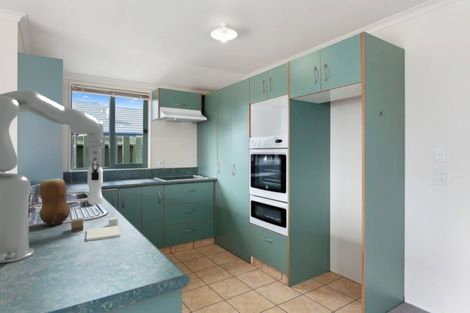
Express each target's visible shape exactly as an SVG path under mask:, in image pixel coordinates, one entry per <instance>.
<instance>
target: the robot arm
mask: <svg viewBox="0 0 470 313" xmlns="http://www.w3.org/2000/svg"><path fill="white" fill-rule="evenodd" d="M23 112H24V113H25V112H29V113H31V114H33V115H36V116H38V117H40V118H42V119H44V120H47V121H49V122H51V123H55V124H59V125H66V126H67V125H68V128H69V130H70V131H71V132H72V133H73V134H76V135H86V148H87V149H89V163H90V164H89V166H90V165H91V167H92V180H99V172H98V165H99V166H100V167H102V149H103V148H104V123H103V121H100V120H98V119H96V118H95V117H93V116H92V115H90V114H87V113H86V112H84V111H81V110H77V109H75V108H72V107H69V106H65V105H62V104H60V103H58V102H57V101H54V100H53V99H52V98H48V96H45V95H44V94H42V93H40V92H38V91H36V90H32V89H19V90H12V91H9V92H3V93H0V264H5V263H11V262H17V261H22V260H24V259H27V258H29V257H31V256H32V255H33V254H34V253H35V249H34V248H32V247H30V237H29V236H30V235H29V234H30V231H29V229H30V228H29V227H30V226H29V202H30V201H29V199H30V195H31V191H32V185H31V181H30V179H29V178H28V177H26V176H25V175H23V174H19V173H9V172H10V171H12V170H14V169H15V168H16V167H17V165H18V163H19V161H18V157H17V153H16V150H15V147H14V144H13V141H12V138H11V134H10V126H11V124H12V122H13V120H14V119H15V118H16V117H17V116H18V114H19V113H23ZM7 172H8V173H7Z"/></svg>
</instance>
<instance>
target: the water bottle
mask: <svg viewBox="0 0 470 313" xmlns="http://www.w3.org/2000/svg"><path fill="white" fill-rule="evenodd" d="M86 172H87V182H86V183H87V185H88V196H87V198H86V199H87V203H88V204H89V205H91V206H93V205H94V204H95V205H96V206H98V205H99V204H102V203H103V200H104V196H103V195H102V194H103V193H102V186H103V183H104V181H103V180H104V178H103V177H104V175H103V173H104V169H103V167H102V166H101V167H100V166H99V165H98V172H99V180H92V167H91V165H90V164H89V167H88V169H87V171H86Z"/></svg>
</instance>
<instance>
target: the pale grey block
mask: <svg viewBox="0 0 470 313" xmlns="http://www.w3.org/2000/svg"><path fill="white" fill-rule="evenodd" d="M118 220H119V219H118V217H109V218H108V227H112V226H118V227H119V225H118V224H119V222H118Z"/></svg>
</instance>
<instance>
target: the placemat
mask: <svg viewBox="0 0 470 313" xmlns="http://www.w3.org/2000/svg"><path fill="white" fill-rule="evenodd" d="M120 237H121V232H120V228H119V225H118V226H112V227H109V226H105V227H97V228H95V227H94V228H90V229H89V228H88V229H87V230H86V238H85V242H91V241H98V240H105V239H112V238H120Z"/></svg>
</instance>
